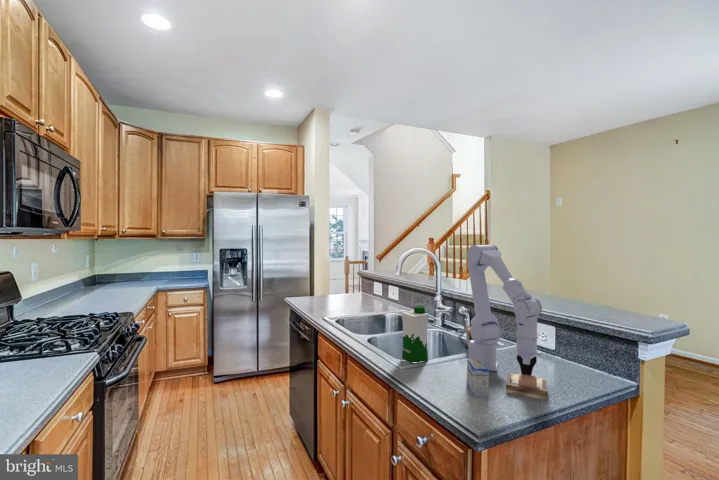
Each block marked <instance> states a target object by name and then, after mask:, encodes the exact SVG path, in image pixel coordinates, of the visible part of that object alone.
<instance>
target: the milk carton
mask: <svg viewBox="0 0 719 480" xmlns="http://www.w3.org/2000/svg"><path fill="white" fill-rule="evenodd" d="M413 309H414V310H413ZM413 309H412V310H406V311H402V312H401V313H400V314H401V319H402V354H401V358H402V359H403V360H404V361H406V362H408V363H410V362H420V361H425V362H428V361H429V355H428V353H429V352H428V323H429V319H430V313H428V312H426V309H425V306H423V305H414V306H413Z"/></svg>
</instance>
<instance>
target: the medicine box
mask: <svg viewBox="0 0 719 480" xmlns="http://www.w3.org/2000/svg"><path fill="white" fill-rule="evenodd" d="M489 374H490V370H488V368H487V367H486V366H485V365H484V363H483V362H482V361H481V360H478V359H469V358H468V359H467V360H466V386H467V388H468V389H469V391H470V393H471V395H472V397H474V398H488V397H489V383H490V381H489V379H490V375H489Z"/></svg>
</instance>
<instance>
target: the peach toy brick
mask: <svg viewBox="0 0 719 480" xmlns="http://www.w3.org/2000/svg"><path fill="white" fill-rule="evenodd" d="M518 375H519V376H518V385H520V386H526V387H531V388H537V380H536V378H537V376H536V375H532V374H531V375H524V374H521V373H518Z"/></svg>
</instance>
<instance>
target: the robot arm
mask: <svg viewBox="0 0 719 480" xmlns="http://www.w3.org/2000/svg"><path fill="white" fill-rule="evenodd" d="M465 254H466V259H467V265H468V266H467V267H468V275H469V281H470V287H471V293H472V298H473V306H474V312H475V315H474V317H473V318H472V319H471V320H470V326H471V330H470V333H471V337H472V338H473V340H470V342H469V350H468V359H478V360H481V361H482V362H483V363H484V365H485V366H486V367H487V368H488V370H489V372H490V371H491V372H497V370H498V367H499V363H498V362H497V343H498V342H499V340H500V338H501V337H502V334H503V333H502V327H501V326H500V324H499V320H498V318H497V317H495V316H494V314H493V313H492V310H491V303H490V298H489V291H488V286H487V280H486V275H485V271H486V270H487V268H488V267H489V268H491V269H492V270H493V272H495V274H496V275H497V277H498V278H499V279H500V281H501V282H502V284H503V285H502V289H503V291H504V292H505V294H506V295H507V297H508V298H509V300H510V301H511V303H512V304H513V307H512V310H513V314H514V315H515V320H516V322H517V323H516V324H517V325H516V326H517V327H516V349H515V352H516V353H517V354H516V360H517V362H518V365H519V367H520V372H521V373H520V374H524V375H531V376H532V373H533V370H534V367H535V365H536V364H537V356H541V355H542V352H541V351H540V350H538V342H537V341H538V316H540V315H541V313H542V310H543V308H542V303H541V302H540V300H539V299H538V298H537V297H533V295H530V294H529V293H528V291H527V289H526V288H525V286H524V285H523V283H522V281H521V280H520V279H518V278H515V277H513V276H512V274H511V272H510V271H509V269H508V267H507V265H506V264H505V262H504V261H503V259H502V252H501V250H499V248H498V247H497V246H496V245H495V244H492V243H491V244H472V245H470V247H468V249H467V251H466V253H465Z"/></svg>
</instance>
